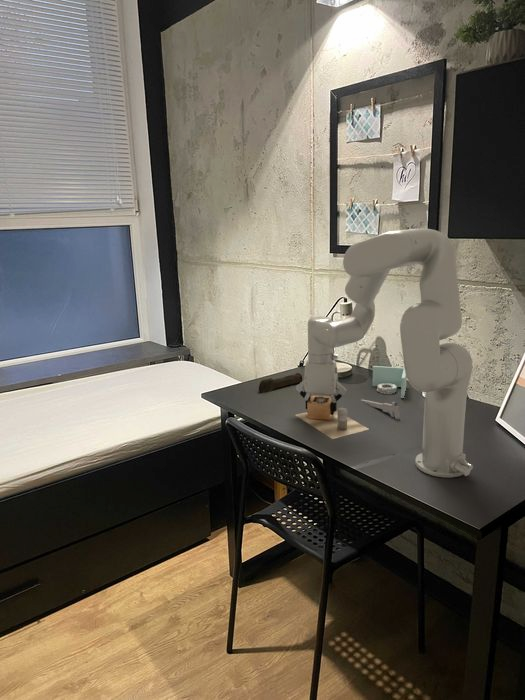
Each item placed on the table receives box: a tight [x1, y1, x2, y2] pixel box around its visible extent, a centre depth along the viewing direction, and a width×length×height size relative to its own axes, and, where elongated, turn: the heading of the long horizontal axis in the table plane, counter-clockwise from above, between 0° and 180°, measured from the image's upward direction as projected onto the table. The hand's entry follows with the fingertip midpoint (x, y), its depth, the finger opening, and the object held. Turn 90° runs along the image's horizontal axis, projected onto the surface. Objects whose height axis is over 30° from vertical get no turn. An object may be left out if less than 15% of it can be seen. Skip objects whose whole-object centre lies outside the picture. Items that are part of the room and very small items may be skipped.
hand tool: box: [258, 372, 303, 393], centre depth 192 cm, size 19×4×5 cm, turn 122°
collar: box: [306, 394, 332, 420], centre depth 161 cm, size 7×7×5 cm
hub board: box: [295, 395, 370, 440], centre depth 156 cm, size 21×13×7 cm, turn 27°
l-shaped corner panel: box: [372, 365, 408, 399], centre depth 182 cm, size 12×12×8 cm
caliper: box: [360, 399, 401, 420], centre depth 165 cm, size 20×1×6 cm, turn 25°
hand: (321, 411), depth 161 cm, fingers closed on collar, 6 cm apart
